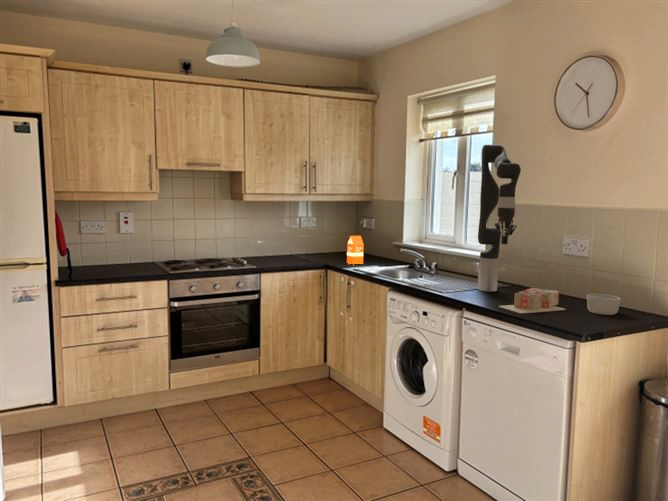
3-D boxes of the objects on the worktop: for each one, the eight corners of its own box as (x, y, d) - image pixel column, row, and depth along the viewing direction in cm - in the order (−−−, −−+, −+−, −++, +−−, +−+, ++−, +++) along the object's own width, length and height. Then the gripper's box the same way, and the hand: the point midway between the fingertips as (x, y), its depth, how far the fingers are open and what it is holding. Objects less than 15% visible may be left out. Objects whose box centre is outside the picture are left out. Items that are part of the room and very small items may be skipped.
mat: (498, 306, 236) (498, 305, 236) (542, 303, 245) (542, 302, 245) (520, 313, 223) (520, 312, 223) (565, 309, 232) (566, 309, 232)
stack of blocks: (513, 306, 235) (541, 311, 226) (514, 293, 234) (542, 297, 226) (532, 300, 250) (558, 304, 242) (532, 287, 250) (559, 291, 242)
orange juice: (363, 264, 370) (363, 236, 368) (352, 265, 366) (353, 236, 364) (357, 263, 377) (357, 235, 375) (346, 263, 373) (347, 235, 370)
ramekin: (623, 312, 230) (624, 296, 229) (615, 317, 220) (616, 300, 220) (590, 307, 239) (591, 292, 238) (581, 312, 229) (582, 296, 228)
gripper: (490, 206, 249) (488, 243, 251) (509, 207, 237) (507, 245, 239) (503, 206, 252) (501, 242, 254) (522, 207, 240) (520, 245, 241)
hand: (504, 244), depth 246 cm, fingers closed
